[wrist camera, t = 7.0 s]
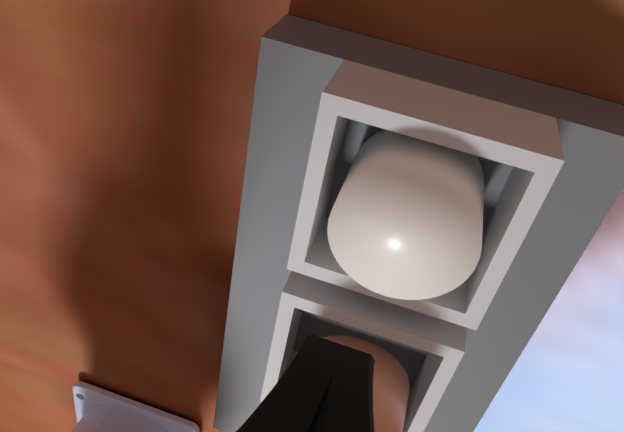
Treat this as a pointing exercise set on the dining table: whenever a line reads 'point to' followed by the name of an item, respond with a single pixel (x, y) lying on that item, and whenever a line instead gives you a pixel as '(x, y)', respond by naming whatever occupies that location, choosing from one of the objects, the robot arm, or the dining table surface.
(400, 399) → the knob middle
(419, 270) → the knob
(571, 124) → the panel
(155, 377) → the dining table surface
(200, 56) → the dining table surface
